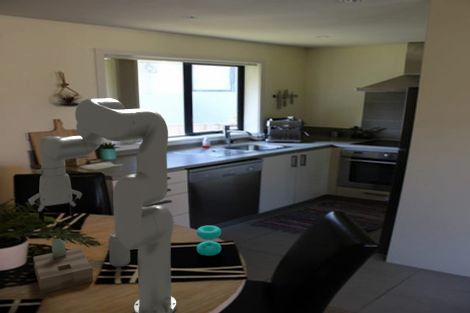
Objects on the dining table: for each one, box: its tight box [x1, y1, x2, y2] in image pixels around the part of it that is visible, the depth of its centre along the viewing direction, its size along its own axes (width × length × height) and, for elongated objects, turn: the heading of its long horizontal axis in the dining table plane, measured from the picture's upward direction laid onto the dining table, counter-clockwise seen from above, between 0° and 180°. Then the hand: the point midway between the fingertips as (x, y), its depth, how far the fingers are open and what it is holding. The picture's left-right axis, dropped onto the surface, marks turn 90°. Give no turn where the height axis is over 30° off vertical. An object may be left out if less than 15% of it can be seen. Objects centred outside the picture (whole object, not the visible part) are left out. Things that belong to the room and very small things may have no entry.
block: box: [32, 247, 94, 295], centre depth 137 cm, size 20×16×5 cm
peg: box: [51, 237, 67, 260], centre depth 140 cm, size 4×4×12 cm
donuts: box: [196, 225, 222, 257], centre depth 158 cm, size 10×10×10 cm
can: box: [108, 231, 131, 268], centre depth 146 cm, size 8×8×12 cm
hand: (57, 218), depth 138 cm, fingers open, 9 cm apart
